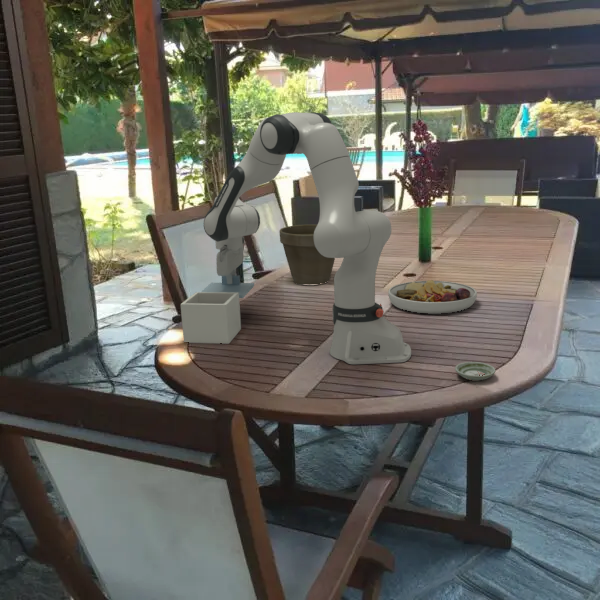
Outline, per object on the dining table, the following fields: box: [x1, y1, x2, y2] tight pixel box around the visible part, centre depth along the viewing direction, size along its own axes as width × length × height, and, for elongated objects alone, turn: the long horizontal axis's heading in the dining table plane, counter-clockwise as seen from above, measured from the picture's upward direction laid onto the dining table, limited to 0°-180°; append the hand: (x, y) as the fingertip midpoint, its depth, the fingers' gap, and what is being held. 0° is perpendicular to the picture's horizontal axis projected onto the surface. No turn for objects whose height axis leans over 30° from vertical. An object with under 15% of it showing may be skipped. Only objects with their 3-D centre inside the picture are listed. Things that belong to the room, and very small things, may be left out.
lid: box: [200, 275, 255, 299], centre depth 212 cm, size 15×15×5 cm
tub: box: [180, 291, 242, 345], centre depth 196 cm, size 14×14×12 cm
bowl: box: [387, 279, 478, 315], centre depth 222 cm, size 30×30×8 cm
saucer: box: [454, 361, 496, 381], centre depth 159 cm, size 10×10×2 cm
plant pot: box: [278, 224, 336, 285], centre depth 258 cm, size 25×25×22 cm
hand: (231, 282), depth 217 cm, fingers closed on lid
